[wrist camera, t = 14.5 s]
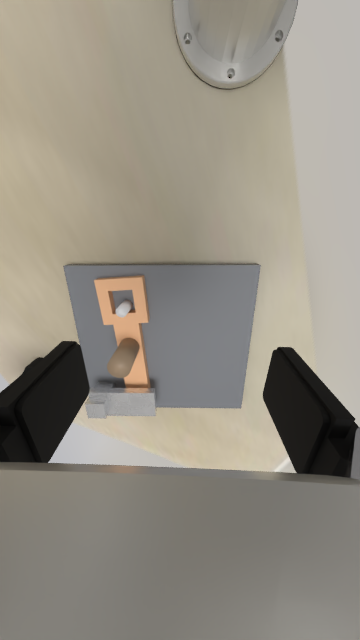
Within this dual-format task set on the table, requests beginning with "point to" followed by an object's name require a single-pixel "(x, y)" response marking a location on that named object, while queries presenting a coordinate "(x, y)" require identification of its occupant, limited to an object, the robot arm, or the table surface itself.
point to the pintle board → (175, 328)
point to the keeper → (120, 401)
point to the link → (126, 329)
